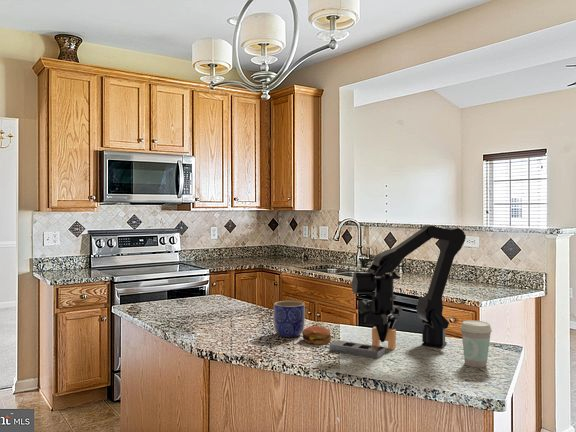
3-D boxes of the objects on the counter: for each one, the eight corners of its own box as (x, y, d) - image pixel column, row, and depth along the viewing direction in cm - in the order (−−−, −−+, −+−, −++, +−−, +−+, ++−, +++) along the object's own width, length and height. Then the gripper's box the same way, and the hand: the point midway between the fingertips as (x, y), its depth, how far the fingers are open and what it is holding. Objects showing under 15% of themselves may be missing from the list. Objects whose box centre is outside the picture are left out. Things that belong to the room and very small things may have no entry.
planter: (311, 334, 181) (311, 303, 181) (290, 340, 173) (290, 307, 173) (288, 329, 188) (288, 299, 188) (267, 335, 180) (267, 303, 180)
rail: (384, 353, 158) (384, 347, 158) (377, 358, 153) (377, 352, 153) (337, 346, 166) (337, 340, 166) (329, 350, 161) (329, 344, 161)
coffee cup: (455, 360, 151) (455, 320, 151) (482, 359, 152) (483, 319, 152) (467, 369, 143) (468, 326, 143) (497, 368, 144) (497, 326, 143)
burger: (326, 337, 178) (326, 323, 178) (334, 344, 169) (334, 330, 169) (299, 338, 176) (299, 325, 176) (305, 346, 167) (305, 331, 167)
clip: (395, 348, 164) (395, 329, 164) (393, 349, 162) (393, 330, 162) (374, 344, 168) (374, 326, 168) (371, 346, 166) (372, 328, 166)
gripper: (371, 286, 177) (371, 331, 177) (349, 294, 161) (348, 343, 161) (403, 289, 171) (402, 336, 172) (382, 298, 155) (382, 349, 156)
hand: (383, 341), depth 165 cm, fingers closed on clip, 2 cm apart
